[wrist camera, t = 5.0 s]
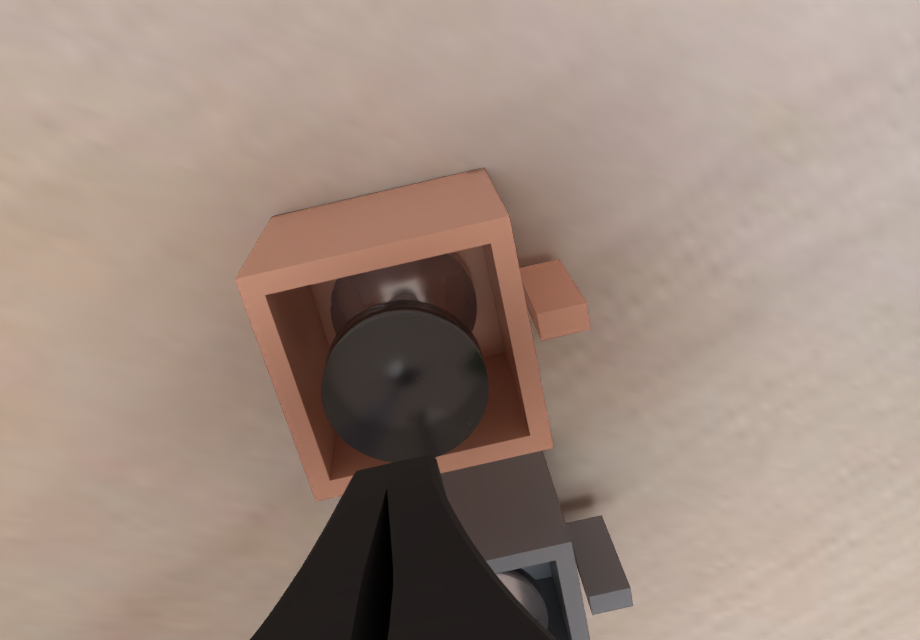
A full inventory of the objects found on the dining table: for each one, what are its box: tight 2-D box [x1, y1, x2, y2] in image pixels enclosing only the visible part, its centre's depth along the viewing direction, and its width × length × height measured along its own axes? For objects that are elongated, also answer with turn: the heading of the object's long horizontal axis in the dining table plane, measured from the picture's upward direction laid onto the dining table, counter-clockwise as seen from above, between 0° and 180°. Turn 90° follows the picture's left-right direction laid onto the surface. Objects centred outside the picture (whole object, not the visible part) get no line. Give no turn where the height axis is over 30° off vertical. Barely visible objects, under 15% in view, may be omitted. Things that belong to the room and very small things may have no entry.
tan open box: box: [235, 168, 591, 501], centre depth 19 cm, size 6×8×5 cm
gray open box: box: [440, 451, 633, 640], centre depth 23 cm, size 6×7×5 cm
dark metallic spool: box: [321, 252, 489, 462], centre depth 18 cm, size 4×4×5 cm
